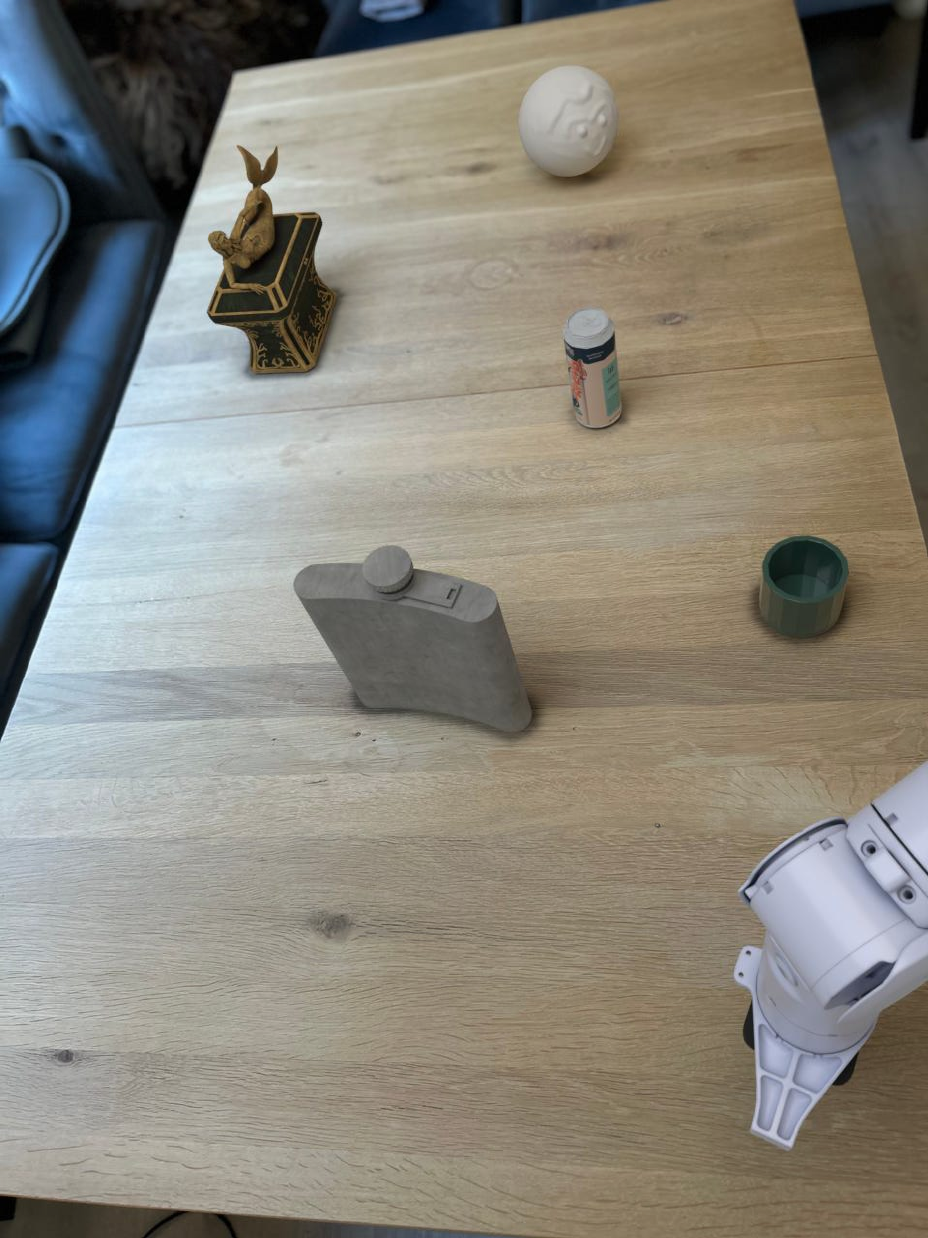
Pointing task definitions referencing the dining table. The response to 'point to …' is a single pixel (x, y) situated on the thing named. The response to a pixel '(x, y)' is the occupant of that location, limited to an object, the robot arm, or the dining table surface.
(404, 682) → the hip flask
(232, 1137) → the dining table surface
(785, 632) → the pot
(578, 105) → the decorative ball
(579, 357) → the beer can
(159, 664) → the dining table surface
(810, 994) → the robot arm
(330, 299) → the decorative box
